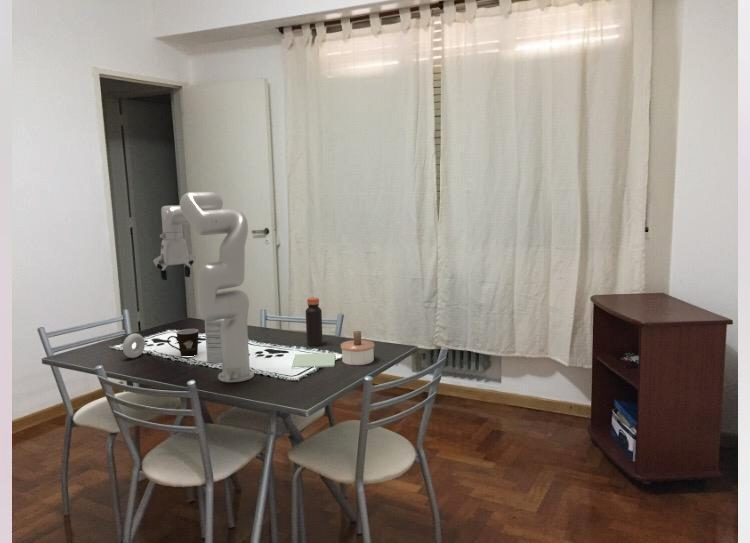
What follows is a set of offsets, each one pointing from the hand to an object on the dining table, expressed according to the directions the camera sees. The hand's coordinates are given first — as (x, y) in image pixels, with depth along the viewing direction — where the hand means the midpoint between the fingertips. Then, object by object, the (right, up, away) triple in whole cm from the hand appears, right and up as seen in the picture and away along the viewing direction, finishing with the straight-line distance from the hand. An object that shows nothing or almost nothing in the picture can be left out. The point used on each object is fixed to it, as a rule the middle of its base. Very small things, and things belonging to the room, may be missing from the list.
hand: (176, 278), depth 237 cm
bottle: (+55, -29, +13) cm, 64 cm away
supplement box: (+20, -32, -6) cm, 38 cm away
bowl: (+74, -32, -11) cm, 82 cm away
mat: (+57, -32, -11) cm, 67 cm away
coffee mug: (+4, -32, +1) cm, 32 cm away
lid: (+74, -26, -12) cm, 80 cm away
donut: (-16, -32, -1) cm, 36 cm away
